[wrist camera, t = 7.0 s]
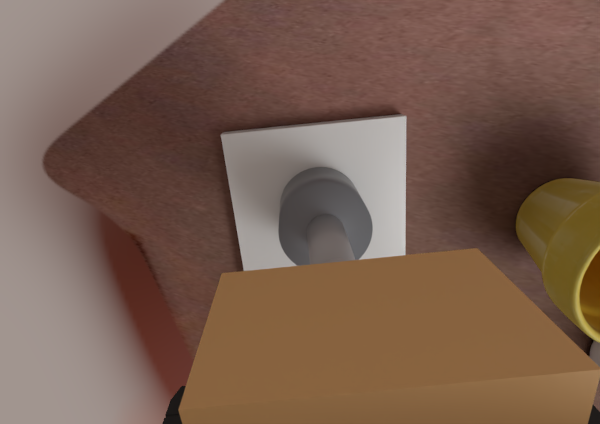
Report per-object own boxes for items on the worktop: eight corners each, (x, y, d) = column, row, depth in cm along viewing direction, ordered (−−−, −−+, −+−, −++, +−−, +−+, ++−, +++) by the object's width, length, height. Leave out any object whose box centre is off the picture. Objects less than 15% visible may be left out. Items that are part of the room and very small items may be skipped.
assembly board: (400, 378, 36) (458, 538, 24) (266, 391, 36) (255, 557, 24) (401, 113, 27) (494, 152, 15) (223, 132, 27) (169, 185, 15)
